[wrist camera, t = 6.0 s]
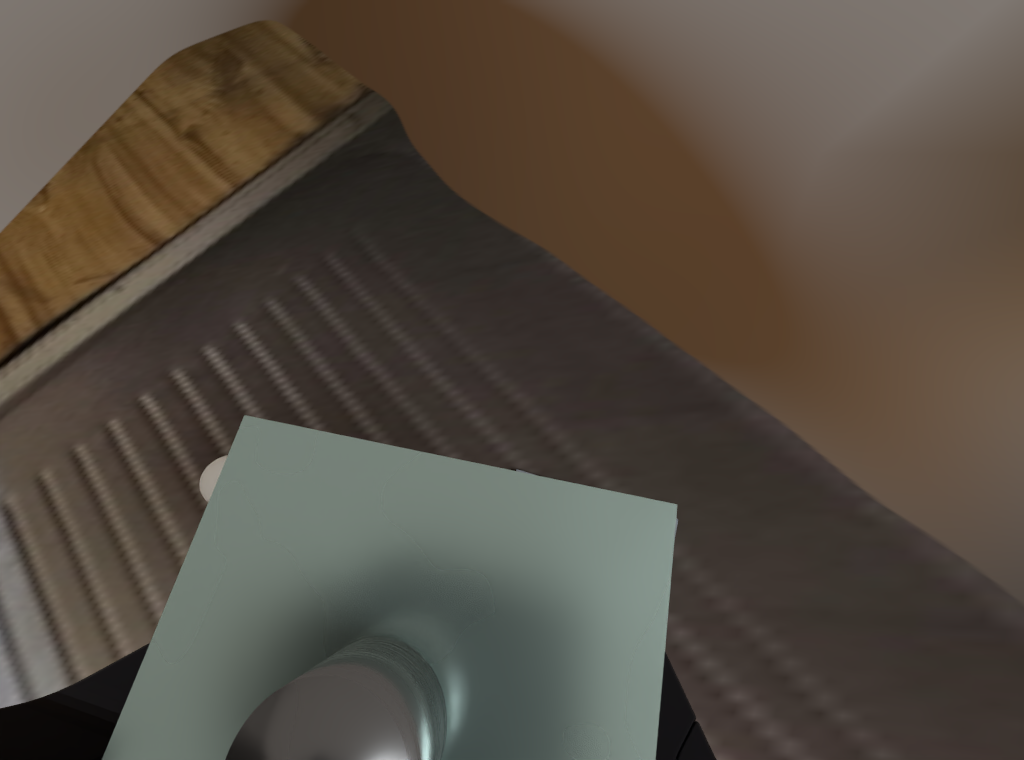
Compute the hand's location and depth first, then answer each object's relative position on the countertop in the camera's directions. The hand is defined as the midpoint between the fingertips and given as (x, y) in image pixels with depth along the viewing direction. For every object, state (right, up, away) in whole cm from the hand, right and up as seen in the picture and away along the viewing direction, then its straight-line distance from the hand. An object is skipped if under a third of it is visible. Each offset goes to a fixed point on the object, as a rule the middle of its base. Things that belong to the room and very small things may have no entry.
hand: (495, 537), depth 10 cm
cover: (0, -3, +6) cm, 7 cm away
